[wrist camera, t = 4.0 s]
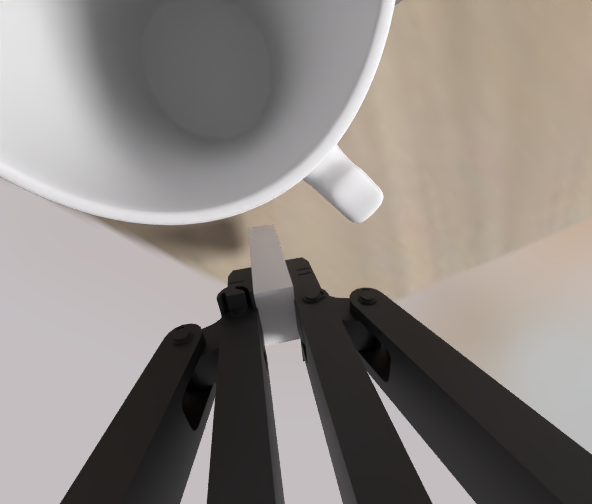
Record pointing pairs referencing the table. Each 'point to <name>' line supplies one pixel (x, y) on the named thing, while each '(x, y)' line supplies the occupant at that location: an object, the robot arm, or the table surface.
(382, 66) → the table surface
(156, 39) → the mug
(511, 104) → the table surface
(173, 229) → the table surface
